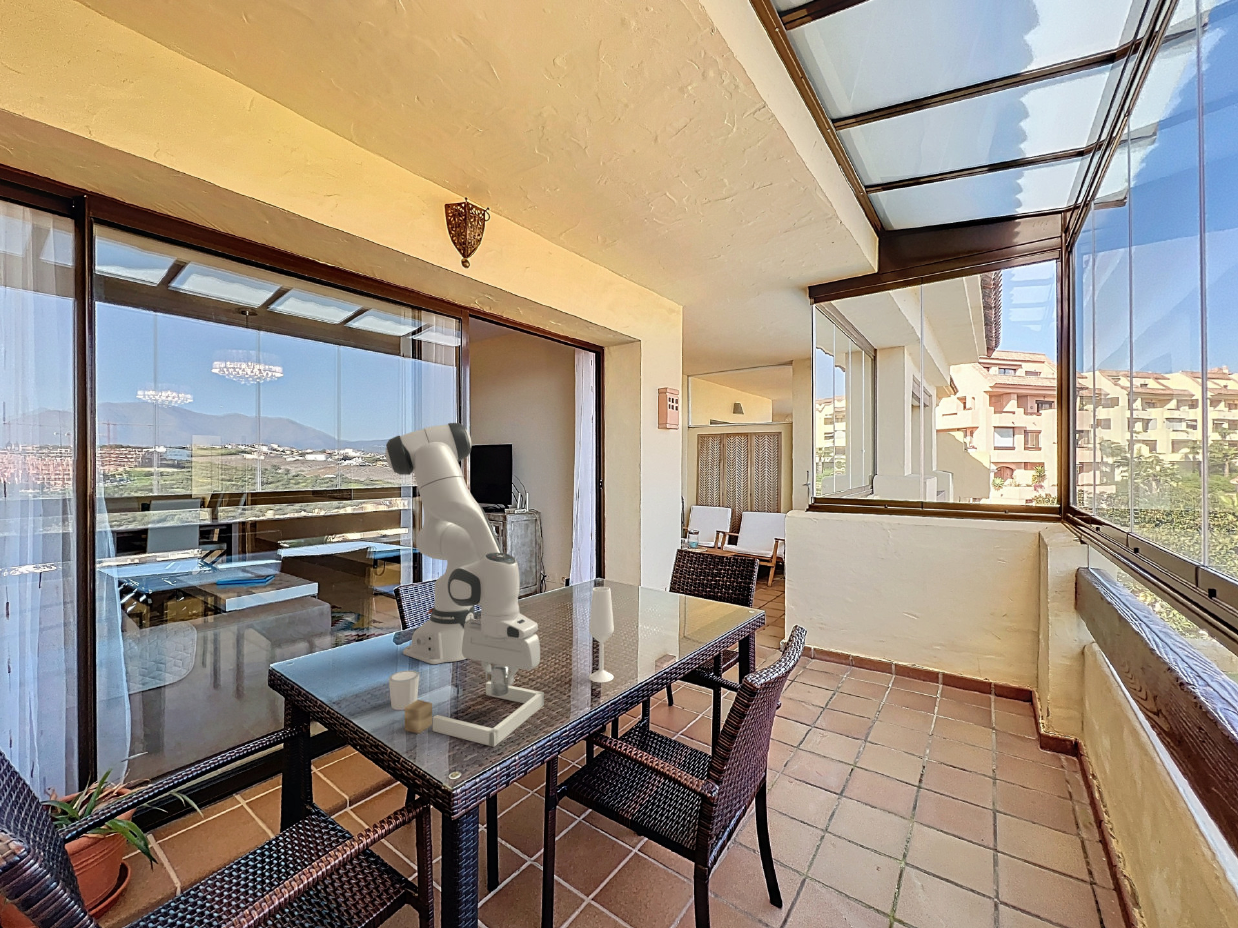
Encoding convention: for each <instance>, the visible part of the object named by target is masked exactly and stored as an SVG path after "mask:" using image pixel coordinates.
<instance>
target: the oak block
mask: <svg viewBox="0 0 1238 928" xmlns="http://www.w3.org/2000/svg"><path fill="white" fill-rule="evenodd" d="M431 726H433V703H432V702H430V701H425V700H421V699H417V701H415V702H413V703H411V704H410V705H408V706H406V707H405V710H404V731H407V732H410V733H413V734H417V735H419V734H421V733H423V732H424V731H425V730H427V729H429V728H430V727H431Z"/></svg>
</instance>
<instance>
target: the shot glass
mask: <svg viewBox="0 0 1238 928" xmlns="http://www.w3.org/2000/svg"><path fill="white" fill-rule="evenodd" d="M419 684H420V672H419V671H416V670H412V669H411V670H402V671H397V672H394V673H392V674H391V675H390V676H389V677H388V685H389V694H390V704H391V706H390V708H392V709H393V710H396V711H405V707H406V706H408V705H410V704H411V703H413V702H415V701H417V700H418V694H419Z"/></svg>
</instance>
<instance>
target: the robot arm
mask: <svg viewBox="0 0 1238 928" xmlns="http://www.w3.org/2000/svg"><path fill="white" fill-rule="evenodd" d="M385 445H386V447H385V454H384V455H385V460H386V462H387V465H388V466H389V467H390V468H391V470H392V471H393V472H394V473H396V474H397V475H402V476H406V475H409V476H410V475H411V474H412V473H414V476H415V481H416V486H417V489H418V492H419V495H420V497H419V498H420V500H421V504H422V509H423V516H424V518H423V521H424V522H423V526H422V528H421V529H420V530H419V531H418V532H417V533H418V534H417V536H416V542H415V543H416V548H417V550H418V551H419V553H421V554H422V555H424V556H425V557H429V558H431V559H434V560H442V561H446V562H447V565H446V569H445V572H444V573H443V574H442V575H440V576H439V577H437V579H436V580H435V583H434V606H433V607H432V608H430V609H428V610H426V611H427V613H426V615H429V614H430V616H429V619H428V620H427V621H426V622H425V623H423V624H422V625H421V626H420V627H418V628H417V629H416V630H415V631H414V632H413V634H412V637H411V644H409V645H408V646H406V647H405V648H404V649H403V651H402V654H403V655H404V656H407V657H409V658H414V659H416V660H418V661H421V662H425V663H428V664H430V665H436V664H437V665H438V664H443V663H449V662H450V663H451V662H458V661H463V660H466V659H470V660H473V661H478V662H481V664H480V665H481V667H482V669H483V672H484V673H485V681H488V682H489V681H490V682H491V666H492V665H495V664H498V665H503V666H508V670H509V674H508V675H507V676H505V677H504V680H505V682H504V683H505V684H508V685H509V686H512V685H513V684H514V682H515V675H516V673H517V671H518V670H519V669H520V670H523V671H524V670H525V671H528V672H529V671H532V670H534V669H535V668H536V667H538V665H540V663H541V646H540V638H539V636H538V635H537V634H536V633H537V632H538V629H539V626H538V625H539V624H538V623H537V622H536V621H534V620H532V619H531V618H529V617H527V616H525V615H523V614H522V613H521V612H520V606H519V602H518V601H519V600H518V599H519V595H520V570H519V569H520V568H519V563H518V561H517V559H516V558H515V557H514V556H513V555H511V554H509V553H505V552H504V551H503V549H502V547H501V544H500V543H499V540H498V538H497V535H496V533H495V531H494V529H493V527H492V525H491V522H490V520H489V519H488V516H487V514H486V512H485V510H484V508H483V507H482V506H481V505H480V503H479V502H477V501H476V499H475V498H474V496H473V494H472V493H471V492H470V489H469V487H468V485H467V483H466V481H465V478H464V475H463V471H462V468H461V466H460V464H459V463H460V462H461V461H462V460H464V459H466V458H468V456H470V454H471V451H472V437H471V435H470V432H469V431H468V430H467V429H466V427H465V425H463V424H462V423H460V422H448V423H447V424H441V425H434V426H428V427H424V428H422V429H418V430H415V431H411V432H408V433H405V434H403V435H396V436H394V437H392V438H390V439H388V441H387V442H386V444H385ZM475 606H479V607H480V619H476V618H475ZM491 664H492V665H491Z"/></svg>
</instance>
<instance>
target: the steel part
mask: <svg viewBox="0 0 1238 928" xmlns="http://www.w3.org/2000/svg"><path fill="white" fill-rule="evenodd" d="M509 673H510V671H509V670H508V666H503V665H498V664H492V665H491V681H490V682H491V694H492V695H495V696H501V695H505V694H507V693H508V684H505V683H504V682H505V680H504V677H505V676H507V675H508V674H509Z"/></svg>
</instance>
